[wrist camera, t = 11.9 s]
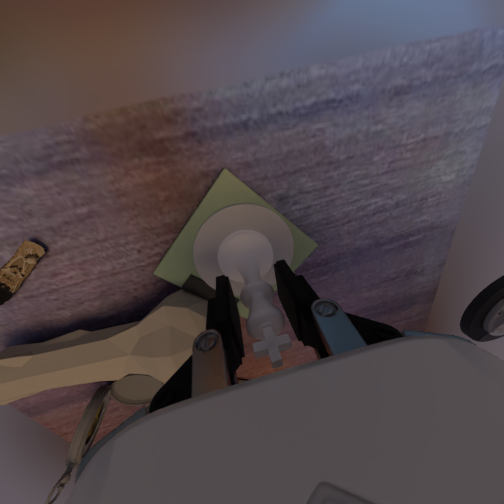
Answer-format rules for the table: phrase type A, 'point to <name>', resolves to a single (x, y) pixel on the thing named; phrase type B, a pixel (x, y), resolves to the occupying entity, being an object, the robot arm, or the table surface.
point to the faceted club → (107, 351)
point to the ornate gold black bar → (18, 269)
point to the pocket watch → (123, 391)
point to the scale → (222, 225)
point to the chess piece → (255, 290)
